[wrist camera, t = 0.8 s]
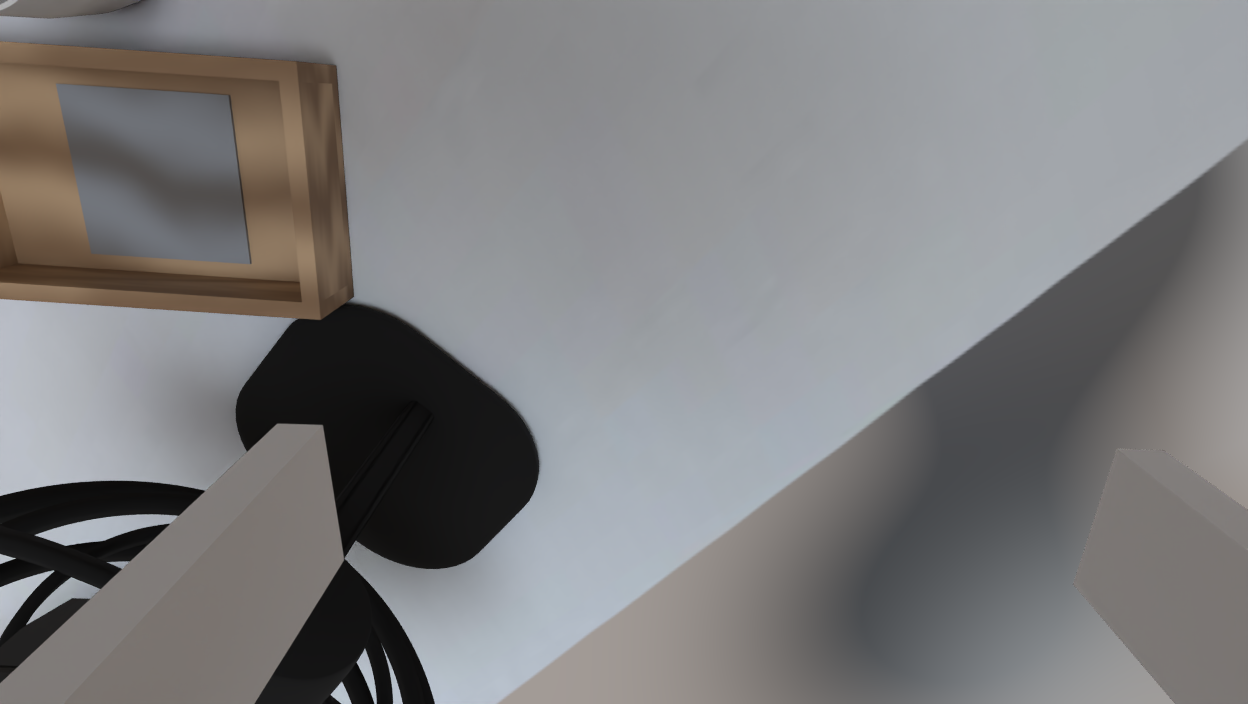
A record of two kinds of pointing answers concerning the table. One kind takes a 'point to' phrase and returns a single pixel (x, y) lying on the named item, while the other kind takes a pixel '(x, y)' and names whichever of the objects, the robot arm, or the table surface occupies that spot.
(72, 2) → the cup
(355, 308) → the desk fan
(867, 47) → the table surface
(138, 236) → the wooden box
